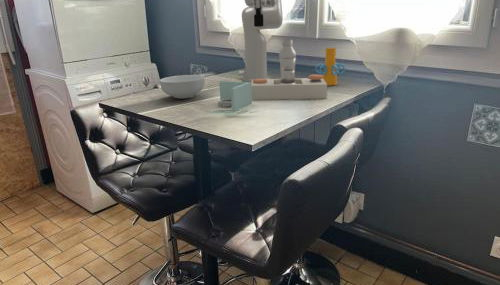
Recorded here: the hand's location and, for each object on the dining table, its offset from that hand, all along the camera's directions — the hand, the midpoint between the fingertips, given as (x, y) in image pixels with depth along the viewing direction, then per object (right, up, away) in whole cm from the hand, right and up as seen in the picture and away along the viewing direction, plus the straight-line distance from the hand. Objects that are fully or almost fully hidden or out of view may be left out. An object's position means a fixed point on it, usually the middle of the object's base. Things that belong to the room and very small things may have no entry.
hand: (258, 26), depth 138 cm
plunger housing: (+11, -24, +7) cm, 27 cm away
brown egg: (+21, -22, +6) cm, 31 cm away
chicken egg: (+1, -23, +8) cm, 24 cm away
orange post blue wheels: (+30, -17, +25) cm, 43 cm away
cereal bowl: (-29, -24, +12) cm, 39 cm away
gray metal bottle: (+11, -24, +7) cm, 27 cm away
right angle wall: (-11, -29, -7) cm, 32 cm away
